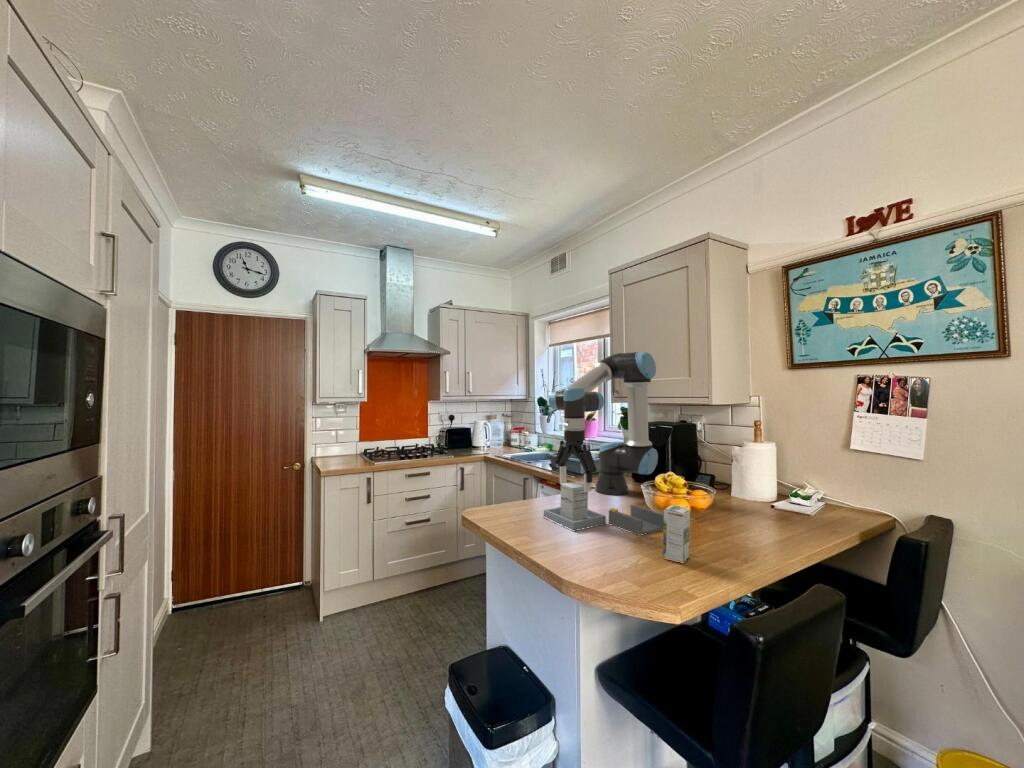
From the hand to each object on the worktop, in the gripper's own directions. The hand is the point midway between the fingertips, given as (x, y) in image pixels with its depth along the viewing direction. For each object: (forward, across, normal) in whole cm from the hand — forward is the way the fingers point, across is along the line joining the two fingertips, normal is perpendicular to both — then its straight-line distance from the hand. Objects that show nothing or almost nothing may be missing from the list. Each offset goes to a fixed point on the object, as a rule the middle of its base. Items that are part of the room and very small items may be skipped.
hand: (574, 487), depth 152 cm
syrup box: (+12, +41, +2) cm, 43 cm away
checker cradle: (+12, +16, +14) cm, 25 cm away
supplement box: (+12, 0, -1) cm, 12 cm away
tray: (+12, 0, -1) cm, 12 cm away
